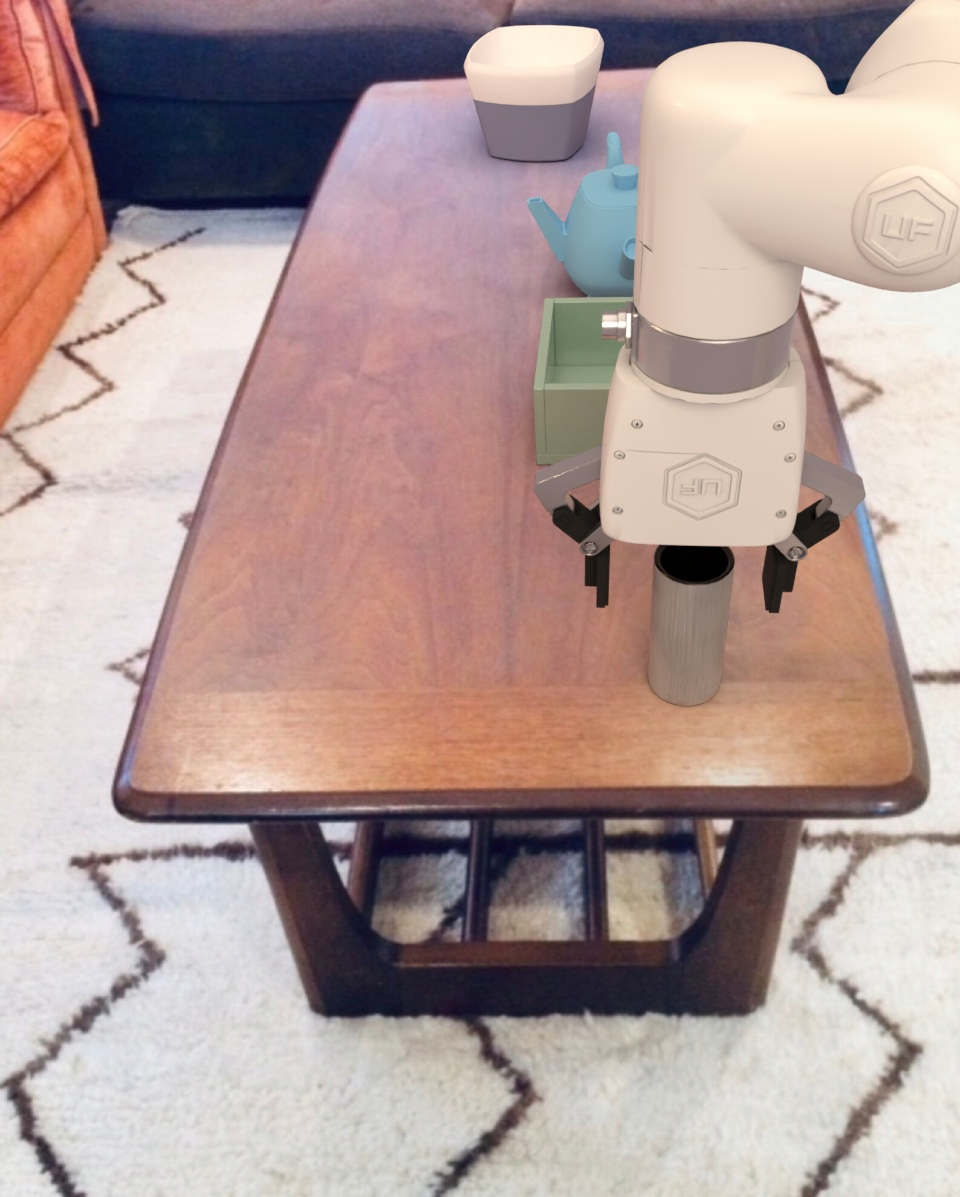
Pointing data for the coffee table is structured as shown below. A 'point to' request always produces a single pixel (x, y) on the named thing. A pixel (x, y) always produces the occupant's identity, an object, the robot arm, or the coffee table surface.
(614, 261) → the teapot
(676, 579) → the grey hollow cylinder
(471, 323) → the coffee table surface
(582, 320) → the green open box
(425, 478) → the coffee table surface
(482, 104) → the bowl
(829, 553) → the coffee table surface
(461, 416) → the coffee table surface
